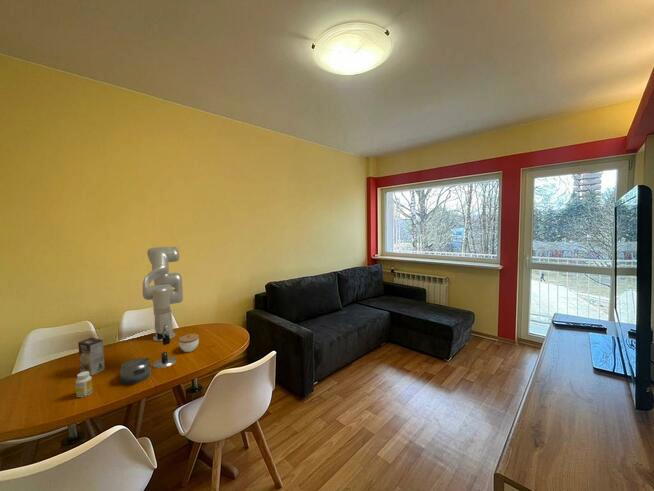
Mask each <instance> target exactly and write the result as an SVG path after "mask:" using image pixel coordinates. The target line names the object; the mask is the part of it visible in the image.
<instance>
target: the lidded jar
mask: <svg viewBox="0 0 654 491" xmlns="http://www.w3.org/2000/svg"><path fill="white" fill-rule="evenodd" d="M178 343H179V344H178V345H179V347H180V350H182V351H183V352H185V353H191V352H194V351H195V350H196V348H197V347H198V346H199V343H200V335H199V334H197V333H188V334H187V333H186V334H185V335H182V336H180V337H179V338H178Z"/></svg>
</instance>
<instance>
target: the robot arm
mask: <svg viewBox="0 0 654 491" xmlns="http://www.w3.org/2000/svg"><path fill="white" fill-rule="evenodd" d="M146 253H147V257H148V258H147V259H148V260H149V262H150V264H151V271H150V272H148V273H147V275H146V276H144V279H143V281H142V297H143V299H144V300H147V301H150V300H151V301H152V305H153V315H154V330H155V335H154V336H153V337H152V339H153V341H154V342H162V346H167V345H169V344H170V343H171V339H173V338H174V337H175V336H176V332H174V331H173V319H172V316H173V315H172V314H173V313H172V309H171V305H174V304H180V303H182V302H183V300H184V290H183V289H184V288H183V279H182V278H183V277H182V275H181V273H179V272H169V271H170V268H169V263H175V262H179V260H180V251H179V248H178V247H176V246H158V247H150V248H148V250H147V252H146ZM152 282H153V285H150V284H151V283H152Z"/></svg>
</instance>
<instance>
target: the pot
mask: <svg viewBox="0 0 654 491" xmlns="http://www.w3.org/2000/svg"><path fill="white" fill-rule="evenodd" d="M119 370H120V373H119V374H120V383H121V384H122V385H135V384H137V383H140V382H143V381H146V380H147V379H149V377H150V376H151V374H152V372H151V360H150V358H149V357H135V358H131V359H128V360H126V361H125V362H123V363H122V364H120V366H119Z"/></svg>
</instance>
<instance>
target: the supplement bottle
mask: <svg viewBox="0 0 654 491" xmlns="http://www.w3.org/2000/svg"><path fill="white" fill-rule="evenodd" d="M76 378H77V379H76V380H75V395H76V397H77V398H78V397H81V398H85V397H87V395H88V396H90V395H91V394H93V378H92V375H89V371H85V372H81V371H80V373H78V374H77V375H76ZM84 396H85V397H84Z"/></svg>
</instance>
